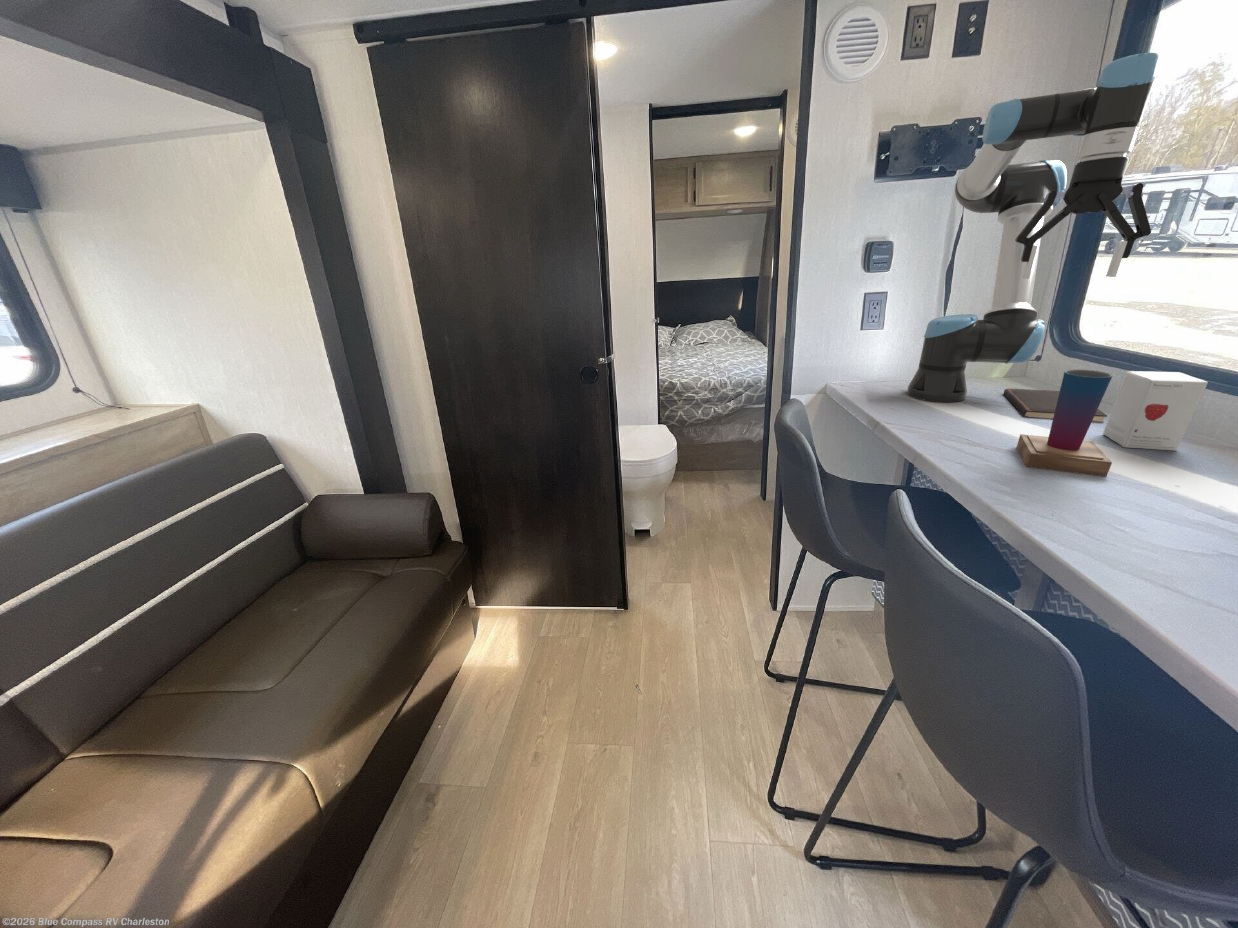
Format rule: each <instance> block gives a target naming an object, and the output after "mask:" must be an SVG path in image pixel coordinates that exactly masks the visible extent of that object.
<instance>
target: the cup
mask: <svg viewBox="0 0 1238 928" xmlns="http://www.w3.org/2000/svg"><path fill="white" fill-rule="evenodd" d="M1112 378H1113V374H1111V373H1109V372H1106V371H1100V370H1093V369H1068V370H1067V369H1066V370H1064V372H1063V378H1062V380H1061V386H1060V389H1059V391H1060V392H1059V397H1058V401H1057V405H1056V409H1055V413H1054V417H1053V418H1052V421H1051V424H1050V425H1051V426H1050V429H1049V434H1048V437H1049V438H1048V442H1047V444H1048V445H1049V446H1051V447H1054V448H1058V449H1063V450H1078V449H1080V447H1081V444H1082V442H1083V440H1085V437H1086V436H1087V433H1088V431H1089V428H1090V426H1091V425H1092V422H1093V421H1092V420H1093V418H1094V416H1095V414H1096V411H1097V409H1099V407H1100V405H1101V402H1102V401H1103V398H1104V396H1105V393H1106V391H1107V389H1108V387H1109V385H1110V382H1111V380H1112Z"/></svg>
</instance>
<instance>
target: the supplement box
mask: <svg viewBox="0 0 1238 928" xmlns="http://www.w3.org/2000/svg"><path fill="white" fill-rule="evenodd" d="M1208 383H1209V382H1208V381H1206V380H1204V379H1201V378H1198V377H1195V376H1191V375H1190V374H1186V373H1184V372H1179V371H1146V370H1145V371H1141V370H1140V371H1139V370H1138V371H1137V370H1136V371H1135V370H1127V371H1126V373H1125V376H1124V379H1123V380H1122V384H1121V386H1120V388H1119V390H1118V393H1117V397H1116V399H1115V401H1114V404H1113V406H1112V409H1111V411H1110V414H1109V416H1108V419H1107V422H1106V425H1105V426H1104V430H1103V433H1102V435H1104V436H1106V437H1108V438H1109V439H1111V440H1112V441H1113V442H1115V443H1116V444H1118V445H1120V446H1122V447H1123V448H1129V449H1143V450H1146V449H1148V450H1160V451H1176V452H1177V451H1178V448H1179V447H1180V445H1181V442H1182V440H1183V437H1184V436H1185V433H1186V432H1187V429H1188V426H1189V425H1190V423H1191V421H1192V418H1193V416H1194V413H1195V411H1196V409H1197V407H1198V405H1199V402H1200V401H1201V399H1202V396H1203V394H1204V392H1205V390H1206V388H1207V386H1208Z"/></svg>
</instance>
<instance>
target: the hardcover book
mask: <svg viewBox="0 0 1238 928" xmlns="http://www.w3.org/2000/svg"><path fill="white" fill-rule="evenodd" d="M1059 392H1060V390H1049V389H1048V390H1047V389H1046V390H1045V389H1044V390H1043V389H1029V388H1028V389H1025V388H1023V389H1022V388H1005V389H1004V390H1003V396H1005V398H1006V399H1007V400H1008V401H1009V402H1010V403H1011V404H1012V405H1013V406H1014V408H1016V410H1017V411H1018V412H1019V413H1020V414H1021V416H1023V417H1024V418H1026V417H1025V416H1028V417H1027V418H1039V419H1040V418H1041V419H1053V417H1054V413H1055V409H1056V405H1057V401H1058V397H1059ZM1105 417H1106V418H1107V417H1108V415H1107V414H1105V412H1103V411H1102V410H1100V409H1099V408H1098V409H1097V411H1096V414H1095V416H1094V418H1093V420H1092V422H1096V423H1097V422H1100V423H1101V422H1102V423H1103V422H1104V418H1105Z"/></svg>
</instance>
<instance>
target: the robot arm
mask: <svg viewBox="0 0 1238 928" xmlns="http://www.w3.org/2000/svg"><path fill="white" fill-rule="evenodd" d="M1160 60H1161V57H1160V55H1159V54H1158V53H1157V52H1142V53H1137V54H1132V55H1128V56H1125V57H1121V58H1117V59H1114V60H1113V61H1110V62H1109V63H1107V64H1106V65H1105V66H1103V69H1102V71H1101V74H1100V76H1099V78H1098V81H1097V83H1096V85H1097V86H1096V87H1091V88H1085V89H1078V90H1072V91H1067V92H1066V91H1065V92H1060V93H1054V94H1046V95H1039V96H1032V97H1025V98H1024V97H1023V98H1013V99H1011V100H1006V101H1001V102H998V103H995V104H994V105H992V106H991V107H990V109H989V111H988V113H987V115H986V116H987V117H986V119H985V122H984V126H983V130H982V139H981V140H982V143H983V144H982V147H981V148H980V149H979V151H978V153H977V154H976V156H975V158H974V159H973V161H972V162H971V164H970V165H968V166H967V167H966V168H965V169H964V170H963V171H962V172H961V174H960V175H959V177H958V178H957V180H956V183H955V187H954V188H955V189H954V195H955V197H956V200H957V202H958V203H959V204H960V205H961V207H963V208H964V209H966V210H968V211H970V212H973V213H977V214H989V213H990V214H991V213H997V221H998V223H1000V224H1001V225H1002V234H1001V239H1000V241H1001V242H1000V245H999V247H1000V248H999V254H998V260H997V267H996V268H997V269H996V275H995V282H994V287H993V288H994V289H993V295H992V302H991V303H992V304H991V308H990V310H987V311H986V313H984V314H983V319H979V317H978V315H977V314H974V313H970V314H967V313H965V314H963V313H961V314H953V315H945V316H939V317H936V318H933V319H931V320H930V321H928V323H927V326H926V330H925V333H924V335H923V338H924V339H923V343H922V348H921V354H920V359H919V363H918V368H917V371H916V372H915V374H914V375H913V377H912V379H911V380H910V382H909V383H908V386H907V392H906V395H908V396H909V397H910V398H914V399H917V400H922V401H927V402H934V403H936V402H937V403H955V402H961V401H964V400H965V399H966V398H967V394H968V388H967V387H968V386H967V381H966V380H967V379H966V374H965V373H966V367H967V363H992V364H994V363H995V364H997V363H998V364H1000V363H1001V364H1005V365H1008V364H1023V363H1026V362H1027V361H1029V360H1030V359H1032V357H1033V356H1034V355H1035V353H1036V352H1037V351H1038V348H1039V346H1040V344H1041V342H1042V340H1043V336H1044V334H1045V329H1046V325H1045V323H1046V322H1045V321H1044V320H1043V319H1040V318H1038V319H1037V317H1038V310H1037V309H1035V308H1034V307H1033V306H1032V303H1033V302H1032V300H1033V294H1034V287H1035V281H1036V276H1037V274H1036V273H1037V268H1038V261H1039V255H1040V253H1039V252H1040V246H1041V240H1042V238H1043V236H1044V235H1045V234H1047V233H1048V232H1049V231H1051V230H1052V229H1053V228H1055V226H1056V225H1058V224H1059V223H1060V222H1061V221H1063V220H1064V219H1066V217H1068V216H1069V215H1070V214H1071V213H1072V214H1073V215H1080V214H1081V215H1082V214H1085V213H1087V214H1096V213H1101V212H1102V214H1104V215H1105V216H1106V217H1107V219H1108V220H1109V221H1110V222H1111V225H1113V227H1114V228H1115V229H1116V231H1117V232H1118V233H1119V235H1120V236H1121V237H1122V239H1123V240H1117V242H1116V245H1115V248H1114V251H1113V254H1112V257H1111V260H1110V263H1109V265H1108V270H1107V272H1106V275H1105V276H1106V277H1110V278H1115V277H1116V276H1117V274H1118V271H1119V267H1120V265H1121V262H1122V259H1128V258H1129V257H1130V255H1131V252H1132V250H1133V246H1134V243H1135V242H1136V240H1138V239H1140V238H1144V237H1147V236H1149V235H1151V233H1152V229H1151V226H1150V222H1149V219H1148V214H1147V210H1146V207H1145V204H1144V200H1143V197H1142V196H1143V195H1142V194H1143V190H1144V183H1143V182H1138V183H1134V184H1132V185H1127V186H1123V184H1122V183H1123V180H1124V176H1125V173H1126V170H1127V166H1128V163H1129V160H1130V158H1129V157H1128V156H1126V155H1128V154H1130V153H1131V152H1132V150H1133V148H1134V144H1135V141H1136V138H1137V134H1138V131H1139V129H1140V125H1141V123H1142V120H1143V116H1144V112H1145V111H1146V107H1147V104H1148V101H1149V99H1150V95H1151V92H1152V89H1153V86H1154V82H1155V81H1156V79H1157V78H1158V77H1157V73H1158V70H1159V66H1160ZM1062 136H1074V137H1082V141H1081V145H1080V147H1079V151H1078V154H1077V156H1076V159H1077V160H1078V161H1079V162H1077V163H1076V164H1075V165H1074V168H1073V172H1072V175H1071V179H1070V183H1069V186H1068V188H1067V190H1066V186H1067V181H1068V180H1067V179H1068V176H1067V175H1068V174H1067V173H1068V171H1067V167H1066V165H1065V163H1063V162H1062V161H1061V160H1058V159H1055V160H1053V159H1052V160H1045V159H1042V160H1039V161H1032V162H1023V163H1022V162H1021V163H1012V164H1010V163H1011V162H1012V160H1013V159H1014V158H1015V157H1016V156H1017V154H1018V153H1019V151H1020V150H1021V149H1022V147H1024V145H1025V143H1027V141H1031V140H1032V141H1033V140H1039V139H1045V138H1046V139H1047V138H1056V137H1062ZM1065 190H1066V191H1065ZM1121 194H1123V196H1124V198H1125V199H1127V201H1128V205H1129V209H1130V213H1131V216H1132V219H1133V223H1134V226H1135V231H1134V229H1133V228H1132V226H1131V225H1130V224H1129V222H1128V221H1127V219H1126V218H1125V217H1124V216H1123V215H1122V213H1121V212H1120V210H1119V209H1118V207H1117V206H1116V203H1115V202H1114V200H1116V199H1117V198H1118V197H1119V196H1120V195H1121ZM1062 200H1063V201H1064V203H1065V204H1066V206H1064V207H1063V208H1062V209H1060V211H1059V212H1057V213H1056V214H1055V215H1054V216H1053V217H1052V218H1051V219H1049V220H1048V221H1047V222H1046V223H1045V224H1044V220H1045V218H1047V217H1048V216H1049V215H1051V213H1052V212H1053V210H1054V208H1056V207H1058V206H1059V204H1060V203H1061V202H1062Z"/></svg>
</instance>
